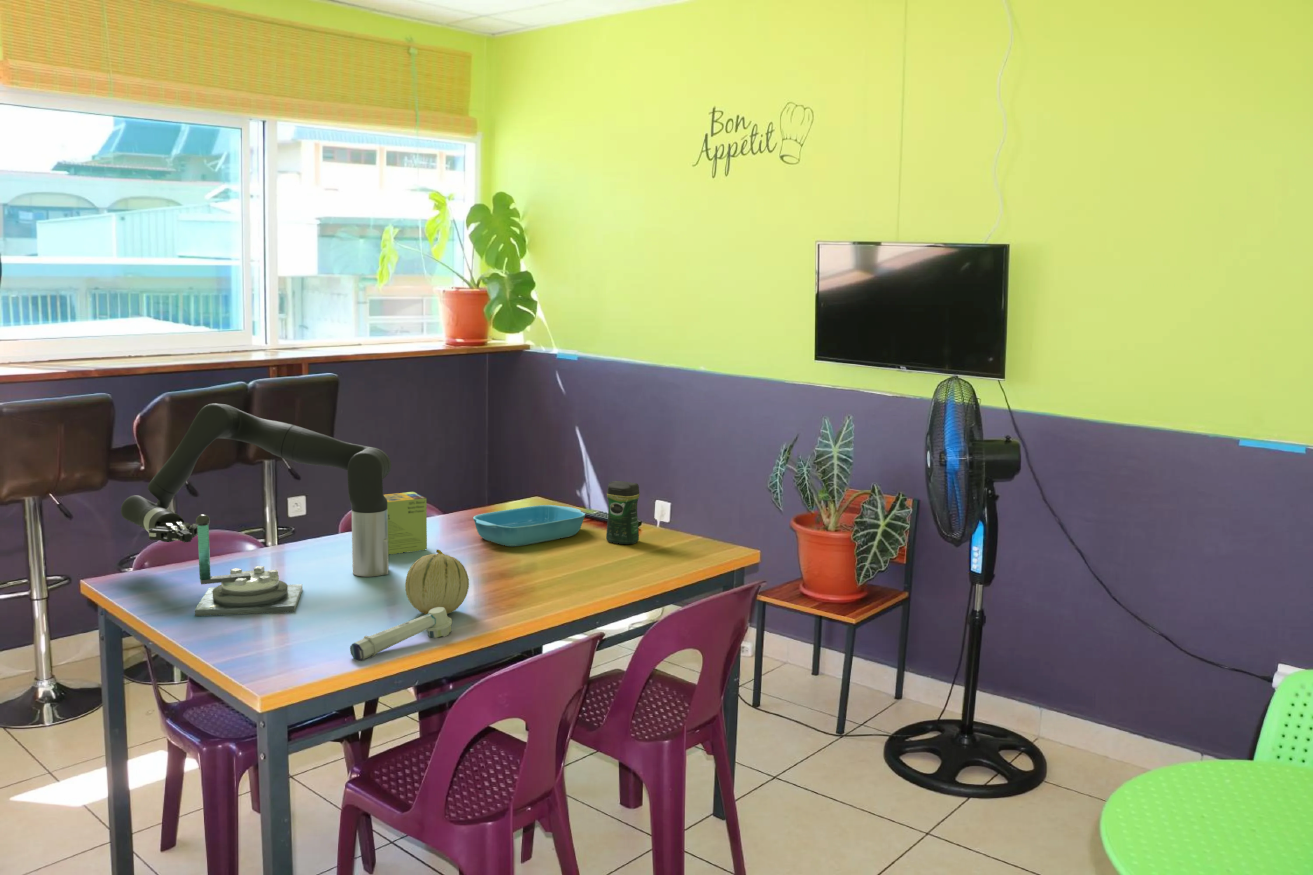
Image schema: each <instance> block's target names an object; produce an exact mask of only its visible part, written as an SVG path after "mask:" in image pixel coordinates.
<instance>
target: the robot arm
mask: <svg viewBox="0 0 1313 875" xmlns="http://www.w3.org/2000/svg"><path fill="white" fill-rule="evenodd" d="M216 439H225V440H233V441H238V442H242V443H247V444H252V445H255V446H257V447H258V448H260V449H262V450H264V451H265V452H268V453H270V454H271V455H274V456H276V457H279V458H280V459H281V458H282V459H283V460H284V459H285V460H289V461H291V462H295V463H297V464H303V465H307V466H308V465H311V466H320V467H321V466H322V467H333V468H338V469H341V470H345V471H347V472H346V473H347V476H346V477H347V489H348V490H347V491H348V492H347V493H348V499H349V500H348V501H349V502H350V506H351V543H352V544H351V548H352V552H351V553H352V554H351V556H352V574H353V575H355V576H357V577H379V576H383V575H385V576H386V575H389V569H390V568H389V566H390V564H389V558H390V557H389V555H388V516H387V499H386V498H385V497H384V495H385V494H384V489H383V488H384V487H383V486H384V485H383V484H384V482H383V479H385V478H386V477H387V476H388V475H389V474H390V472H391V468H392V461H391V458H390V457H389V455H388V454H387V453H386V452H384V451H383V450H382V449H379V448H378V447H372V446H368V445H367V446H366V445H362V444H356V443H351V442H347V441H344V440H340V439H337V438H335V437H332V436H329V435H326V434H323V433H320V432H316V431H314V430H310V429H308V428H304V427H301V426H298V425H295V424H292V423H287V422H283V421H277V420H271V419H265V418H261V417H258V416H255V415H254V414H251V413H247V412H246V411H243V410H240V409H239V408H236V407H234V406H232V405H229V404H224V403H216V402H215V403H209V404H206V405H204V406H203V407H201V409H200V410H199V411H198V413H197V414H196V415H195V418H194V419H193V420H192V422H191V424H190V426H189V427H188V430H187V431H186V433H185V435H184V437H183V438H182V440H181V441H180V443H179V444H178V446H177V447H176V449H175V450H174V452H173V453H172V454H171V455H170V457H169V458H168V459H167V461H166V462H165V463H164V464H163V465H162V467H161V468H160V470H158V471H157V473H156V474H155V475H154V476H153V478H152V479H151V480H150V482H148V485H147V489H148V491H149V493H150V494H151V495H153V496H154V498H156V499H157V501H156V502H153V501H151V500H149V499H148V498H145V497H143V496H142V495H135V494H134V495H130V496H129V497H127V498H126V499H125V500H124V501H123V503H122V504H121V506H120V514H121V516H122V518H123V519H124V520H126V521H127V522H128V521H129V522H130V523H132V524H134V525H136V526H138V527H140V528H142V529H143V530H145V531H146V532H148V538H149V540H152V541H153V540H154V541H160V542H163V543H172V542H176V541H177V542H178V541H180V542H182V543H190V542H192V540H193V538H196V537H198V526H197V523H196V522H195V523H192V525H191V523H189V522H185V520H184V519H183V517H182V516H181V515H180V514H178V513H175V511H171V510H170V509H168V508H169V506H170V504H171V503H172V501H173V499H174V497H175V496H176V495H177V494H178V493H179V491H180V490H181V489H182V487H184V485H185V484H186V482H187V481H188V480H189V478H190V477H191V475H192V473H193V471H194V468H195V466H196V464H197V461H198V459H199V458H200V457H201V455H202V454H203V452H204V451H205V450H206V449H207V448H208V447H209V446H210V445H211V444H212V443H213V442H214V441H215V440H216Z"/></svg>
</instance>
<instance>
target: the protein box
mask: <svg viewBox="0 0 1313 875" xmlns="http://www.w3.org/2000/svg"><path fill="white" fill-rule="evenodd" d="M383 495H384V497H385V498H386V499H387V516H388V556H389V554H391V555H398V554H397V553H399V554H404V553H403V552H407V553H413V551H414V552H420V551H419V550H422V551H426V550H425V549H427V550H428V530H427V528H428V527H427V524H428V523H427V521H428V520H427V516H428V514H427V510H428V509H427V497H425V496H423V495H421V494H418V493H417V492H415V491H407V492H400V493H399V492H396V493H388V494H383Z"/></svg>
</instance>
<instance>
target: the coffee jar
mask: <svg viewBox="0 0 1313 875" xmlns="http://www.w3.org/2000/svg"><path fill="white" fill-rule="evenodd" d="M640 494H641V493H640V487H639V484H638V483H637V482H630V481H624V480H614V481H610V482H608V485H607V490H606V498H607V503H608V509H607V510H608V511H607V512H608V513H607V522H606V534H605V536H606V538H605V539H606V541H607V542H609V543H612V542H613V544H618V543H619V544H620V545H629V544H633V545H634V544H636V543H637V542H638V541H639V540H640V532H639V519H638V500H639V498H640ZM619 544H618V545H619Z"/></svg>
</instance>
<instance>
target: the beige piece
mask: <svg viewBox="0 0 1313 875" xmlns="http://www.w3.org/2000/svg"><path fill="white" fill-rule="evenodd" d="M452 624H453V620H452V617H449V616H448V614H447V613H446V610H445V608H444V607H436V608H433V609H431V610H430V611H429V612H428V614H424V615H421V616H419V617H416V618H415V619H411V620H408V621H406V622H403V623H400V624H398V625H395V626H392V627H390V628H388V629H384V630H381V631H379V632H376V633H375V634H371V635H369V636H368V635H365V636H364V637H363V638H362V639H360V640H357V641H356V642H353V643H352V644H351V645H350V647H349V650H350V651H349V652H350V655H351V657H352V658H353V659H354V660H357V661H362V660H365V659H367V658H370V657H375V656H376V654H378V653H380V652H382V651H384V650H387V649H389V648H391V647H392V646H395V645H397V644H400V643H401V642H403V641H405V640H408V639H410V638H412V637H414V636H416V635H419V634H420V633H422V632H425V631H427V636H428V637H429V638H432V639H433V638H434V639H439V637H443V638H444V637H447V636H449V635H450V633H451V632H452V626H451V625H452Z"/></svg>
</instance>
